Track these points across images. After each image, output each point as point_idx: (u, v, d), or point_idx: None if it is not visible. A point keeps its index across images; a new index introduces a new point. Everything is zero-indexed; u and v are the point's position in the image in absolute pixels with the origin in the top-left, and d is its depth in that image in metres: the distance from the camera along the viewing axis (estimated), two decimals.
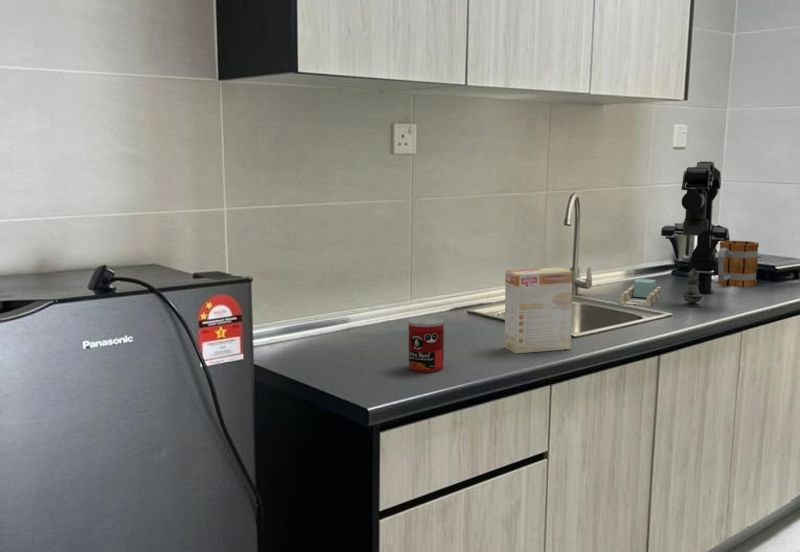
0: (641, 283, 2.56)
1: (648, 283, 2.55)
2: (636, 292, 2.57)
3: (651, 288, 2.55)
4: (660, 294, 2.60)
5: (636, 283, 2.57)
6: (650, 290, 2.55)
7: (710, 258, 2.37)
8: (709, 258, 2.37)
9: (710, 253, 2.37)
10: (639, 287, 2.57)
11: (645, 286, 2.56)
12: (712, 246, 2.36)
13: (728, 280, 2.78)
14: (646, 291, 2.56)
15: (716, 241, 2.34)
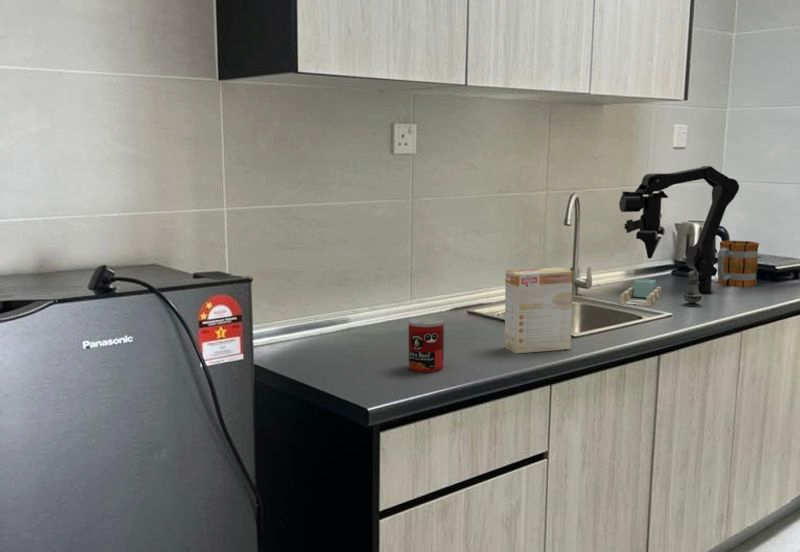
0: (641, 283, 2.56)
1: (648, 283, 2.55)
2: (636, 292, 2.57)
3: (651, 288, 2.55)
4: (660, 294, 2.60)
5: (636, 283, 2.57)
6: (650, 290, 2.55)
7: (647, 255, 2.63)
8: (647, 255, 2.63)
9: None
10: (639, 287, 2.57)
11: (645, 286, 2.56)
12: None
13: (728, 280, 2.78)
14: (646, 291, 2.56)
15: None
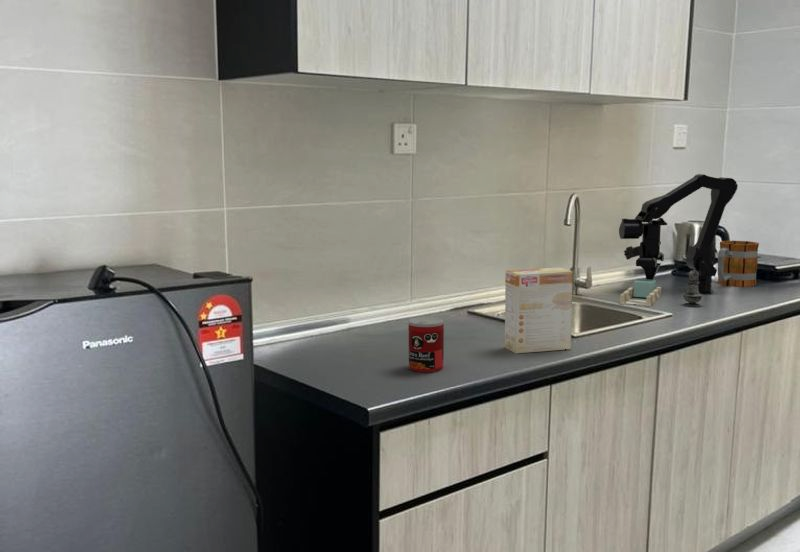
0: (641, 283, 2.56)
1: (648, 283, 2.55)
2: (636, 292, 2.57)
3: (651, 288, 2.55)
4: (660, 294, 2.60)
5: (636, 283, 2.57)
6: (650, 290, 2.55)
7: None
8: None
9: None
10: (639, 287, 2.57)
11: (645, 286, 2.56)
12: (645, 271, 2.65)
13: (728, 280, 2.78)
14: (646, 291, 2.56)
15: None
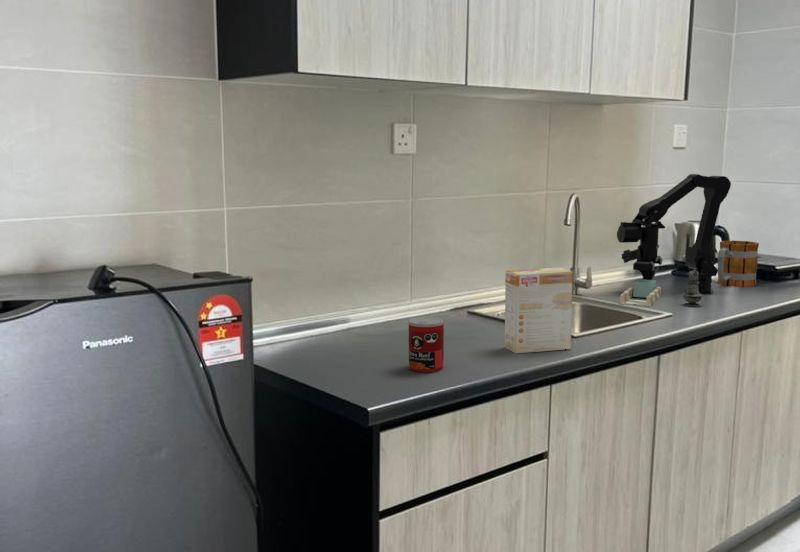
0: (641, 283, 2.56)
1: (648, 283, 2.55)
2: (636, 292, 2.57)
3: (651, 288, 2.55)
4: (660, 294, 2.60)
5: (636, 283, 2.57)
6: (650, 290, 2.55)
7: None
8: None
9: None
10: (639, 287, 2.57)
11: (645, 286, 2.56)
12: None
13: (728, 280, 2.78)
14: (646, 291, 2.56)
15: None
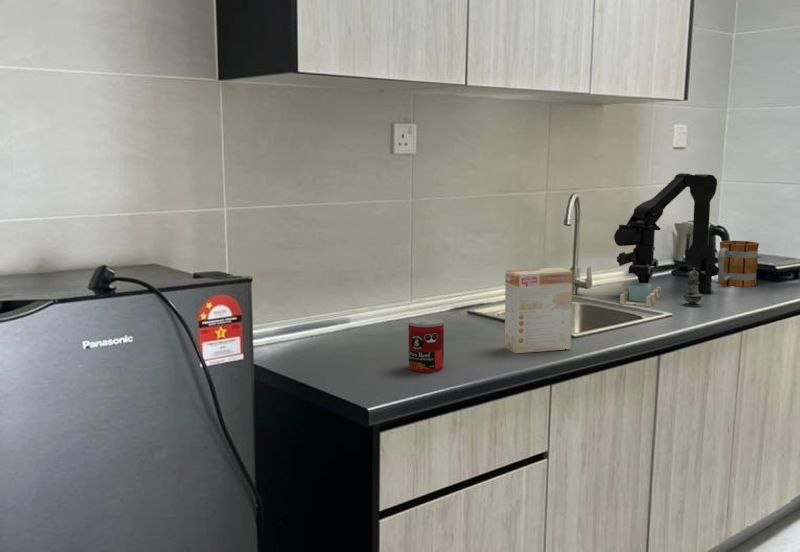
0: (636, 287, 2.49)
1: (644, 287, 2.48)
2: (631, 296, 2.51)
3: (647, 292, 2.48)
4: (660, 294, 2.60)
5: (631, 287, 2.50)
6: (646, 294, 2.48)
7: None
8: None
9: None
10: (634, 291, 2.50)
11: (641, 290, 2.49)
12: (638, 278, 2.56)
13: (728, 280, 2.78)
14: (642, 295, 2.49)
15: None
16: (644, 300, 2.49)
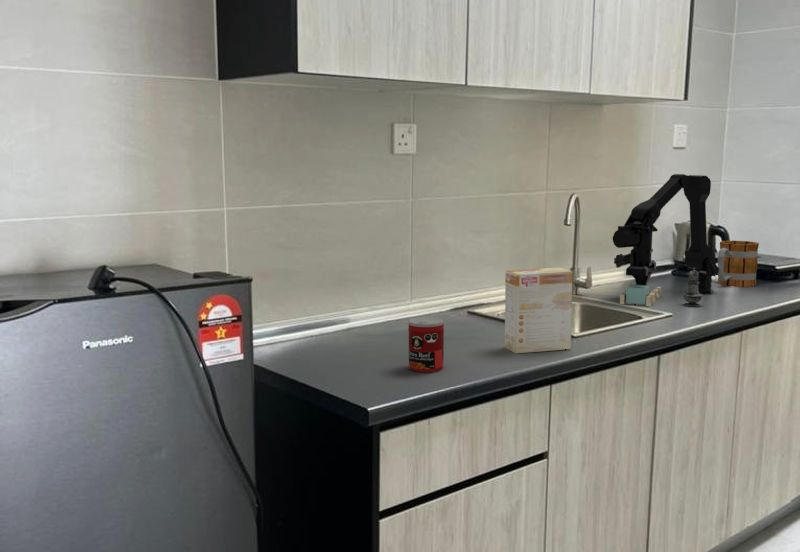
0: (634, 289, 2.46)
1: (641, 289, 2.45)
2: (629, 298, 2.47)
3: (644, 294, 2.45)
4: (660, 294, 2.60)
5: (629, 289, 2.47)
6: (643, 296, 2.45)
7: None
8: None
9: None
10: (632, 293, 2.46)
11: (638, 292, 2.45)
12: None
13: (728, 280, 2.78)
14: (639, 297, 2.45)
15: None
16: (642, 302, 2.45)
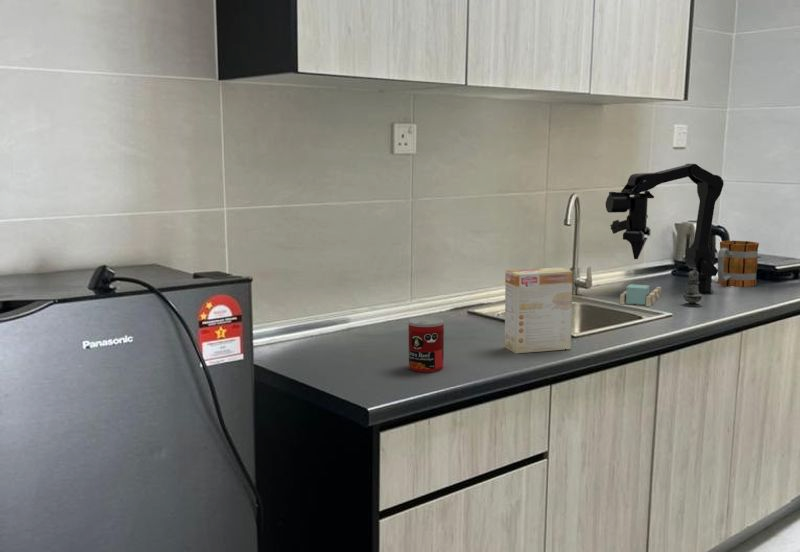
0: (634, 289, 2.46)
1: (641, 289, 2.45)
2: (628, 298, 2.47)
3: (644, 294, 2.45)
4: (660, 294, 2.60)
5: (629, 289, 2.46)
6: (643, 296, 2.45)
7: None
8: None
9: None
10: (632, 293, 2.46)
11: (638, 292, 2.45)
12: (631, 245, 2.60)
13: (728, 280, 2.78)
14: (639, 297, 2.45)
15: (627, 240, 2.59)
16: (641, 302, 2.45)
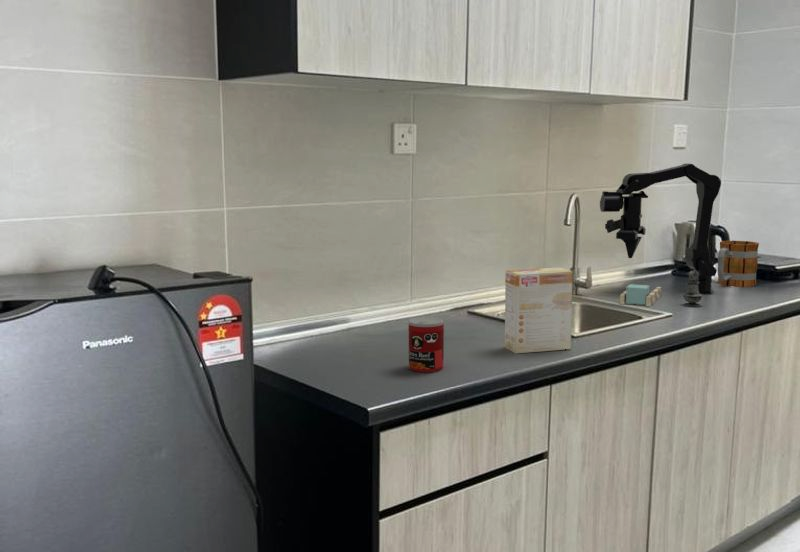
0: (634, 289, 2.46)
1: (641, 289, 2.45)
2: (628, 298, 2.47)
3: (644, 294, 2.45)
4: (660, 294, 2.60)
5: (629, 289, 2.46)
6: (643, 296, 2.45)
7: None
8: None
9: None
10: (632, 293, 2.46)
11: (638, 292, 2.45)
12: (626, 244, 2.64)
13: (728, 280, 2.78)
14: (639, 297, 2.45)
15: None
16: (641, 302, 2.45)
